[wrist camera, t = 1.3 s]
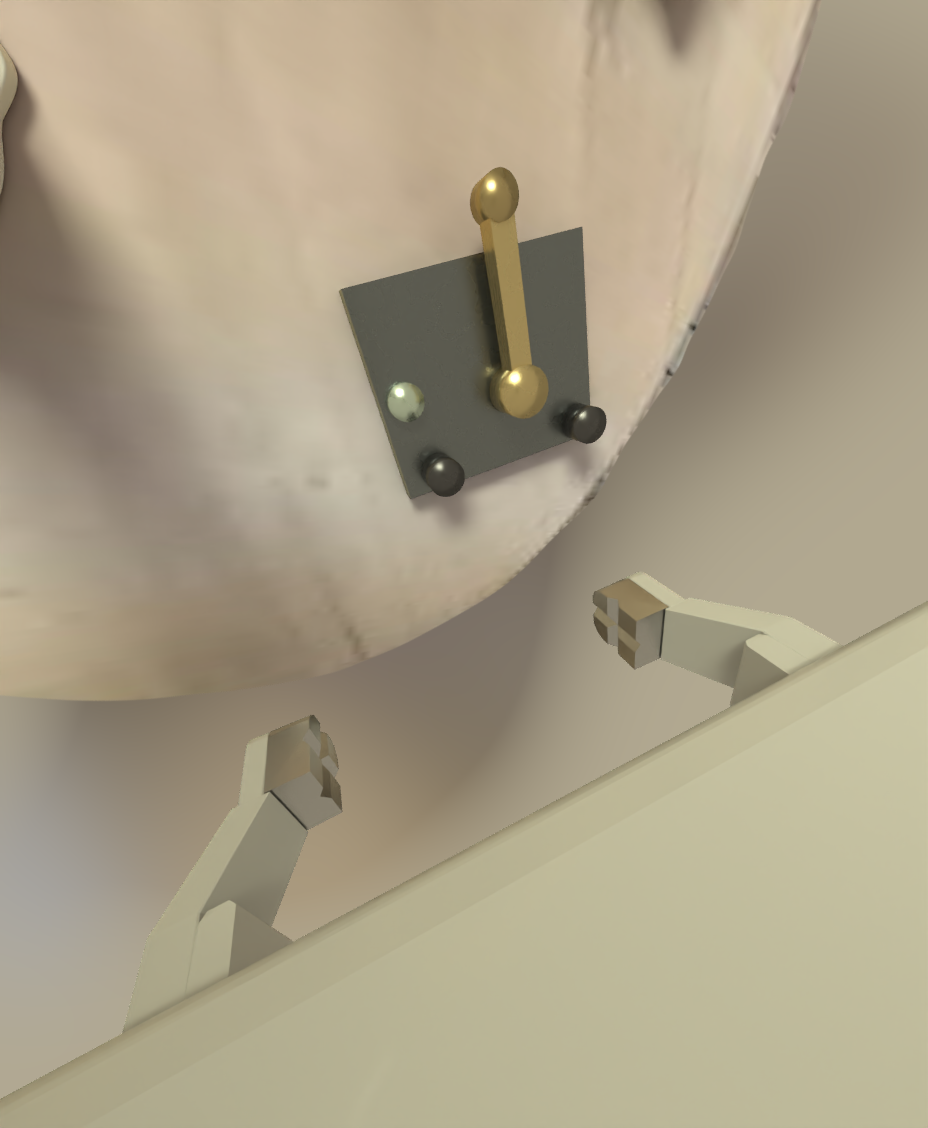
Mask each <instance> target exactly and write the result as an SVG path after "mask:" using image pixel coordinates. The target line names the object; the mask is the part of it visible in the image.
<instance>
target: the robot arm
mask: <svg viewBox="0 0 928 1128" xmlns="http://www.w3.org/2000/svg"><path fill="white" fill-rule="evenodd" d="M17 83H18V77H17V72H16V69H15V66H14V64H13V62H12V60H11V58H10V57H9V55H8V54H7V52H6V51H5V49H4V48H3V46H2V45H1V44H0V194H1V191H2V186H3V180H4V155H3V143H2V122H3V119H4V117H5V115H6V113H7V111H8V109H9V107H10V105H11V103H12V101H13V98H14V96H15V93H16V89H17ZM593 603H594V604H595V605H596V606H597V609H596V611H595V612H594V614H593V616H594V624H595V626H596V629H597V631H598V633H599V634H600V636H601V637H602V638H603V640H604V641H606V643H608V644H610V645H613V646H617V647H618V654H619V655H620V656H621V657H622V658H623V659H624V660H625V661H626V662H627V663H628V664H629V665H630V666H631V667H632V668H634V669H637V668H639V667H642V666H644V665H646V664H648V663H650V662H652V661H655V660H657V659H659V658H661V660H664V661H666V662H669V663H671V664H674V665H676V666H679V667H681V668H684V669H686V670H689V671H692V672H694V673H697V674H699V675H702V676H704V677H707V678H709V679H712V680H714V681H717V682H720V683H722V684H725V685H727V686H730V687H732V688H734V690H733V694H732V698H731V702H730V707H729V708H727V709H726V710H724V711H722V712H720V713H718V714H716V715H715V716H713V717H711V718H709V719H707V720H705V721H703V722H702V723H700V724H698V725H696V726H694V727H692V728H690V729H689V730H687V731H685V732H683V733H681V734H679V735H677V736H675V737H673V738H672V739H670V740H668V741H666V742H664V743H662V744H660V745H659V746H657V747H655V748H653V749H651V750H649V751H647V752H646V753H644V754H642V755H640V756H638V757H636V758H634V759H633V760H631V761H629V762H627V763H625V764H623V765H621V766H619V767H618V768H616V769H614V770H612V771H610V772H608V773H606V774H604V775H603V776H601V777H599V778H597V779H596V780H593V781H591V782H590V783H588V784H586V785H584V786H582V787H581V788H578V789H577V790H575V791H573V792H571V793H569V794H567V795H565V796H564V797H562V798H560V799H558V800H556V801H554V802H552V803H550V804H549V805H547V806H545V807H543V808H541V809H539V810H537V811H536V812H534V813H532V814H530V815H529V816H526V817H525V818H523V819H521V820H519V821H517V822H515V823H513V824H511V825H510V826H508V827H506V828H504V829H502V830H500V831H499V832H497V833H495V834H493V835H491V836H489V837H487V838H485V839H484V840H482V841H480V842H478V843H476V844H474V845H472V846H471V847H469V848H467V849H465V850H463V851H461V852H460V853H458V854H456V855H454V856H452V857H450V858H448V859H447V860H445V861H443V862H441V863H439V864H437V865H435V866H433V867H432V868H430V869H428V870H426V871H424V872H422V873H420V874H419V875H417V876H415V877H413V878H411V879H409V880H407V881H406V882H404V883H402V884H400V885H398V886H396V887H394V888H392V889H391V890H389V891H387V892H385V893H383V894H381V895H379V896H378V897H376V898H374V899H372V900H370V901H368V902H366V903H365V904H363V905H361V906H359V907H357V908H355V909H354V910H352V911H350V912H348V913H346V914H344V915H342V916H341V917H339V918H337V919H335V920H333V921H331V922H329V923H328V924H326V925H324V926H322V927H320V928H318V929H317V930H314V931H313V932H311V933H309V934H307V935H305V936H303V937H301V938H300V939H298V940H296V941H294V942H293V941H292V940H290V939H289V938H287V937H286V936H285V935H283V934H282V933H280V932H278V931H277V930H275V929H274V928H272V927H271V926H272V924H273V921H274V919H275V916H276V914H277V911H278V908H279V906H280V903H281V901H282V898H283V896H284V893H285V891H286V888H287V885H288V883H289V880H290V878H291V875H292V872H293V870H294V867H295V865H296V862H297V860H298V857H299V855H300V852H301V849H302V847H303V844H304V842H305V839H306V837H307V834H308V831H307V830H309V829H311V828H313V827H314V826H316V825H318V824H320V823H322V822H324V821H326V820H328V819H330V818H332V817H334V816H336V815H337V814H339V813H341V812H342V802H341V790H340V785H339V784H338V782H337V781H336V779H335V776H336V773H337V771H338V769H339V768H338V759H337V755H336V751H335V748H334V745H333V743H332V741H331V739H330V737H329V736H328V734H327V733H323V732H320V723H319V721H318V720H317V719H316V717H315V716H314V715H310V716H307V717H305V718H302V719H300V720H297V721H295V722H292V723H290V724H288V725H285V726H282V727H280V728H278V729H275V730H273V731H271V732H269V733H266V734H264V735H261V736H259V737H257V738H254V739H252V740H250V741H249V743H248V745H247V747H246V752H245V759H244V766H243V773H242V781H241V788H240V795H239V803H238V806H237V807H235V808H233V809H231V811H230V812H229V814H228V815H227V817H226V818H225V820H224V822H223V823H222V824H221V826H220V828H219V829H218V831H217V832H216V834H215V835H214V837H213V838H212V840H211V841H210V843H209V844H208V846H207V848H206V849H205V851H204V852H203V854H202V855H201V857H200V858H199V860H198V861H197V863H196V864H195V866H194V868H193V869H192V871H191V872H190V874H189V875H188V877H187V878H186V880H185V881H184V883H183V884H182V886H181V887H180V889H179V890H178V892H177V894H176V895H175V897H174V898H173V900H172V901H171V903H170V904H169V906H168V907H167V909H166V910H165V912H164V913H163V915H162V917H161V918H160V920H159V921H158V923H157V924H156V926H155V927H154V929H153V930H152V932H151V934H150V935H149V936H148V938H147V941H146V945H145V949H144V952H143V956H142V960H141V964H140V967H139V972H138V976H137V979H136V983H135V987H134V991H133V995H132V998H131V1002H130V1006H129V1010H128V1013H127V1017H126V1021H125V1025H124V1029H123V1033H122V1034H121V1035H119V1036H117V1037H115V1038H113V1039H111V1040H110V1041H108V1042H106V1043H104V1044H102V1045H100V1046H98V1047H96V1048H95V1049H93V1050H91V1051H89V1052H87V1053H85V1054H83V1055H82V1056H80V1057H78V1058H76V1059H74V1060H72V1061H70V1062H69V1063H67V1064H65V1065H63V1066H61V1067H59V1068H57V1069H56V1070H54V1071H52V1072H50V1073H48V1074H46V1075H45V1076H42V1077H40V1078H39V1079H37V1080H35V1081H33V1082H31V1083H29V1084H27V1085H26V1086H24V1087H22V1088H20V1089H18V1090H16V1091H14V1092H13V1093H11V1094H9V1095H7V1096H5V1097H3V1098H1V1099H0V1128H928V601H926V602H924V603H923V604H921V605H919V606H917V607H915V608H914V609H912V610H910V611H908V612H906V613H904V614H902V615H900V616H899V617H897V618H895V619H893V620H891V621H889V622H887V623H886V624H884V625H882V626H880V627H878V628H876V629H874V630H872V631H871V632H869V633H867V634H865V635H863V636H861V637H859V638H858V639H856V640H854V641H852V642H850V643H848V644H847V645H845V646H842V645H840V644H838V643H837V642H835V641H833V640H831V639H830V638H828V637H826V636H824V635H822V634H821V633H819V632H817V631H815V630H813V629H812V628H810V627H808V626H806V625H804V624H803V623H801V622H799V621H797V620H795V619H794V618H791V617H789V616H783V615H778V614H773V613H767V612H762V611H757V610H752V609H747V608H741V607H736V606H731V605H726V604H720V603H715V602H710V601H704V600H699V599H694V598H689V599H686V600H685V599H684V598H682V597H680V596H679V595H678V594H676V593H675V592H673V591H672V590H670V589H669V588H667V587H665V586H664V585H662V584H661V583H659V582H658V581H656V580H655V579H653V578H652V577H650V576H649V575H647V574H645V573H643V572H638V573H635V574H633V575H631V576H628V577H626V578H624V579H622V580H619V581H617V582H615V583H613V584H611V585H609V586H606V587H604V588H602V589H599V590H597V591H595V592H594V595H593Z"/></svg>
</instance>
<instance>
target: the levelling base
mask: <svg viewBox="0 0 928 1128" xmlns="http://www.w3.org/2000/svg"><path fill="white" fill-rule="evenodd" d="M518 249H519V258H520V266H521V275H522V283H523V292H524V300H525V309H526V318H527V326H528V335H529V343H530V352H531V360H532V365H535V366H537V367H539V368H540V369H541V370H542V371H543V372H544V374H545V375H546V377H547V380H548V388H549V389H548V396H547V400H546V402H545V404H544V406H543V408H542V409H541V410H540V411H539V412H538V413H537V414H536V415H534V416H533V417H530V418H526V419H521V418H517V417H514V416H511V415H508V414H506V413H503V412H500V411H499V410H497V409H496V408H495V406H494V405H493V403H492V401H491V398H490V393H489V389H490V383H491V380H492V377H493V375H494V374H495V372H496V371H497V370H498V369H499V368H500V367H501V366H502V364H501V358H500V351H499V345H498V338H497V332H496V326H495V319H494V313H493V306H492V300H491V294H490V287H489V281H488V274H487V268H486V262H485V255H484V252H483V253H479V254H475V255H471V256H467V257H463V258H460V259H456V260H452V261H448V262H444V263H440V264H436V265H433V266H429V267H425V268H421V269H417V270H413V271H409V272H406V273H402V274H398V275H394V276H390V277H386V278H382V279H379V280H375V281H371V282H367V283H363V284H359V285H355V286H352V287H348V288H344V289H341V290H340V291H339V293H340V296H341V299H342V302H343V305H344V308H345V311H346V314H347V317H348V320H349V323H350V326H351V329H352V332H353V335H354V338H355V341H356V344H357V347H358V350H359V353H360V356H361V359H362V362H363V365H364V368H365V371H366V374H367V377H368V380H369V383H370V386H371V389H372V392H373V395H374V397H375V400H376V403H377V406H378V409H379V412H380V415H381V418H382V421H383V424H384V427H385V430H386V433H387V436H388V439H389V442H390V445H391V448H392V451H393V454H394V457H395V460H396V463H397V466H398V469H399V472H400V475H401V478H402V481H403V484H404V487H405V490H406V493H407V494H408V496H409V497H410V499H413V498H415V497H418V496H421V495H423V494H426V493H429V492H431V491H434V493H436V494H437V495H439V496H443V497H448V496H452V495H454V494H456V493H457V492H458V491H459V490H460V489H461V488H462V486H463V484H464V480H465V479H467V478H469V477H472V476H475V475H477V474H480V473H483V472H486V471H488V470H491V469H494V468H496V467H499V466H502V465H504V464H507V463H510V462H513V461H515V460H518V459H521V458H523V457H526V456H529V455H532V454H534V453H537V452H540V451H542V450H545V449H548V448H550V447H553V446H556V445H559V444H561V443H564V442H567V441H569V440H572V439H574V440H577V441H580V442H583V443H586V444H589V443H593V442H595V441H596V440H598V439H599V438H600V437H601V435H602V434H603V432H604V430H605V427H606V415H605V413H604V411H603V410H602V409H601V408H598V407H594V406H590V395H589V372H588V349H587V326H586V303H585V279H584V256H583V233H582V227H579V228H575V229H572V230H568V231H564V232H560V233H556V234H552V235H548V236H544V237H541V238H537V239H533V240H529V241H525V242H521V243H518Z"/></svg>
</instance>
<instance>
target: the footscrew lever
mask: <svg viewBox="0 0 928 1128" xmlns="http://www.w3.org/2000/svg"><path fill="white" fill-rule="evenodd" d="M518 200H519V190H518V185H517V182H516V180H515V178H514V176H513V175H512V173H511V172H510V171H509V170H507V169H505V168H502V167H498V168H495V169H493V170H491V171H490V172H489V173H488V174H487V175H486V176H484V177H483V178H482V179H481V180H480V181H479V182H478V183H477V184H476V185H475V186H474V188H473V190H472V193H471V198H470V207H471V212H472V215H473V218H474V219H475V221H476V222H477V223H478V224H479V225H480V230H481V236H482V242H483V249H484V255H485V262H486V268H487V274H488V281H489V287H490V294H491V300H492V306H493V313H494V319H495V326H496V332H497V338H498V345H499V351H500V358H501V364H502V366H501V367H500V368H499V369H498V370H497V371H496V372H495V374H494V375H493V377H492V380H491V383H490V389H489V393H490V398H491V401H492V403H493V405H494V406H495V408H496V409H497V410H499V411H500V412H503V413H506V414H508V415H511V416H514V417H517V418H521V419H526V418H530V417H533V416H534V415H536V414H537V413H538V412H539V411H540V410H541V409H542V408H543V406H544V404H545V402H546V400H547V396H548V389H549V388H548V380H547V377H546V375H545V374H544V372H543V371H542V370H541V369H540V368H539V367H537V366H535V365H532V360H531V352H530V343H529V335H528V326H527V318H526V309H525V300H524V292H523V283H522V275H521V266H520V258H519V249H518V240H517V232H516V223H515V215H514V212H515V211H516V208H517V205H518Z"/></svg>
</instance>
